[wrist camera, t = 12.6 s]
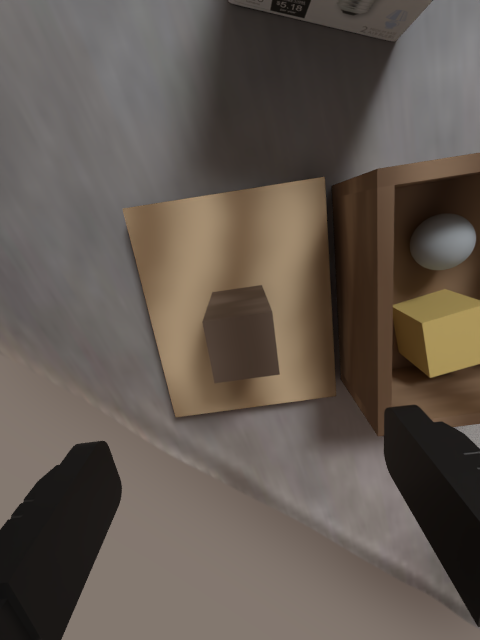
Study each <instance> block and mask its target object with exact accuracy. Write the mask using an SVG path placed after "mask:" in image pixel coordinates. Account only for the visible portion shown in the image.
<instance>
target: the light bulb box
mask: <svg viewBox="0 0 480 640" xmlns="http://www.w3.org/2000/svg"><path fill="white" fill-rule="evenodd" d="M228 1H229V3H231V4H235V5H240V6H244V7H248V8H252V9H256V10H261V11H265V12H269V13H273V14H278V15H282V16H286V17H290V18H294V19H299V20H303V21H307V22H311V23H316V24H320V25H324V26H328V27H332V28H337V29H341V30H345V31H349V32H354V33H358V34H362V35H366V36H370V37H375V38H379V39H383V40H388V41H396V40H397V39H398V38H399V37H400V36H401V35H402V34H403V33H404V32H405V31H406V29H407V28H408V27H409V26H410V25H411V24H412V23H413V22H414V21H415V20H416V19H417V17H418V16H419V15H420V14H421V13H422V12H423V11H424V10H425V9H426V7H427V6H428V5H429V4H430V3H431V2H432V1H433V0H228Z"/></svg>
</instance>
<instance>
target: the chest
mask: <svg viewBox="0 0 480 640" xmlns="http://www.w3.org/2000/svg"><path fill="white" fill-rule="evenodd" d="M332 203H333V225H334V246H335V268H336V289H337V311H338V332H339V353H340V375H341V380H342V382H343V384H344V385H345V387H346V388H347V390H348V391H349V393H350V394H351V396H352V397H353V399H354V400H355V402H356V403H357V405H358V407H359V408H360V410H361V411H362V413H363V414H364V416H365V417H366V419H367V420H368V422H369V423H370V425H371V426H372V428H373V430H374V431H375V433H376V434H377V436H384V412H385V409H386V408H388V407H396V406H405V405H413V404H415V405H417V406H419V407H420V408H421V409H422V410H423V411H424V412H425V413H426V414H427V415H428V417H429V418H430V419H431V420H432V421H433V422H440V421H443V422H444V423H446V424H448V425H450V426H451V427H457V426H465V425H473V424H480V364H478V365H474V366H470V367H467V368H463V369H460V370H456V371H453V372H449V373H446V374H442V375H439V376H435V377H432V378H430V377H428V376H427V375H426V374H425V373H424V372H422V371H421V370H420V369H419V368H417V367H416V366H415V365H414V364H413V363H411V362H410V361H409V360H408V359H406V358H405V357H404V356H403V355H401V354H400V353H399V350H398V344H397V339H396V333H395V328H394V322H393V305H395V304H398V303H401V302H404V301H408V300H411V299H414V298H417V297H421V296H424V295H427V294H430V293H434V292H437V291H440V290H443V289H447V290H450V291H453V292H456V293H459V294H462V295H465V296H468V297H471V298H474V299H477V300H480V153H475V154H468V155H462V156H456V157H449V158H443V159H437V160H431V161H424V162H418V163H412V164H405V165H399V166H393V167H386V168H380V169H376V170H373V171H370V172H368V173H365V174H362V175H360V176H357V177H354V178H351V179H349V180H346V181H343V182H341V183H338V184H335V185H332ZM446 213H447V214H456V215H459V216H462V217H464V218H465V219H467V220H468V221H469V222H470V223H471V224H472V226H473V227H474V230H475V233H476V243H475V247H474V249H473V251H472V253H471V254H470V255H469V257H468V258H467V259H466V260H465V261H463V262H462V263H461V264H459V265H457V266H455V267H453V268H450V269H446V270H431V269H427V268H425V267H423V266H421V265H419V264H418V263H417V262H416V261H415V260H414V258H413V257H412V255H411V252H410V240H411V237H412V234H413V232H414V231H415V229H416V228H417V227H418V226H419V225H420V224H421V223H422V222H423V221H425V220H426V219H428V218H430V217H432V216H435V215H439V214H446Z"/></svg>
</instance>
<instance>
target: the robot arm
mask: <svg viewBox="0 0 480 640" xmlns="http://www.w3.org/2000/svg"><path fill="white" fill-rule="evenodd" d="M384 457H385V461H386V465H387V468H388V471H389V473H390V475H391V477H392V479H393V481H394V482H395V484H396V486H397V488H398V489H399V491H400V493H401V495H402V496H403V498H404V500H405V501H406V503H407V505H408V507H409V508H410V510H411V512H412V514H413V515H414V517H415V519H416V520H417V522H418V524H419V526H420V527H421V529H422V531H423V533H424V534H425V536H426V538H427V539H428V541H429V543H430V545H431V546H432V548H433V550H434V552H435V553H436V555H437V557H438V559H439V560H440V562H441V564H442V565H443V567H444V569H445V571H446V572H447V574H448V576H449V578H450V579H451V581H452V583H453V584H454V586H455V588H456V590H457V591H458V593H459V595H460V597H461V598H462V600H463V602H464V603H465V605H466V607H467V609H468V610H469V612H470V614H471V616H472V617H473V619H474V621H475V622H476V624H477V626H478V627H480V449H479V448H478V447H477V446H476V445H475V444H474V443H473V442H472V441H471V440H470V439H469V438H468V437H467V436H466V435H465V434H464V433H462V432H460V431H458V430H457V429H455V428H453V427H451V426H450V425H448V424H446V423H444V422H443V421H440V422H433V421H432V420H431V419H430V418H429V417H428V415H427V414H426V413H425V412H424V411H423V410H422V409H421V408H420V407H419V406H417V405H415V404H413V405H405V406H396V407H388V408H386V409H385V412H384ZM121 493H122V486H121V480H120V477H119V474H118V472H117V469H116V466H115V463H114V460H113V457H112V455H111V452H110V449H109V446H108V444H107V443H106V442H105V441H98V442H89V443H81V444H76V445H75V446H73V448H72V449H71V450H70V451H69V453H68V454H67V456H66V457H65V458H64V460H63V461H62V462H61V464H60V465H56V466H55V467H54V468H53V469H52V470H51V471H49V472H48V473H47V474H46V475H45V476H44V477H42V478H41V479H40V480H39V481H38V482H37V483H36V484H35V486H34V487H33V488H32V490H31V491H30V492H29V493H28V495H27V496H26V497H25V499H24V502H23V503H21V504H20V505H19V506H18V508H17V509H16V510H15V511H14V513H13V514H12V515H11V519H10V520H7V522H6V523H5V524H4V526H3V527H2V528H1V530H0V640H61V639H62V637H63V634H64V632H65V630H66V627H67V625H68V623H69V620H70V618H71V615H72V613H73V611H74V608H75V606H76V604H77V601H78V599H79V597H80V595H81V592H82V590H83V588H84V585H85V583H86V581H87V578H88V576H89V574H90V571H91V569H92V567H93V564H94V562H95V560H96V557H97V555H98V553H99V550H100V548H101V546H102V543H103V541H104V539H105V536H106V534H107V532H108V529H109V527H110V525H111V522H112V520H113V518H114V515H115V513H116V511H117V508H118V506H119V503H120V500H121Z"/></svg>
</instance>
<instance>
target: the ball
mask: <svg viewBox="0 0 480 640" xmlns="http://www.w3.org/2000/svg"><path fill="white" fill-rule="evenodd" d="M475 243H476V233H475V230H474V227H473V226H472V224H471V223H470V222H469V221H468V220H467V219H465V218H464V217H462V216H459V215H456V214H447V213H446V214H439V215H435V216H432V217H430V218H428V219H426V220H425V221H423V222H422V223H421V224H420V225H419V226H418V227H417V228H416V229H415V231H414V232H413V234H412V237H411V240H410V252H411V255H412V257H413V258H414V260H415V261H416V262H417V263H418V264H419V265H421V266H423V267H425V268H427V269H431V270H446V269H450V268H453V267H455V266H457V265H459V264H461V263H462V262H463V261H465V260H466V259H467V258H468V257H469V255H470V254H471V253H472V251H473V249H474V247H475Z"/></svg>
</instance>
